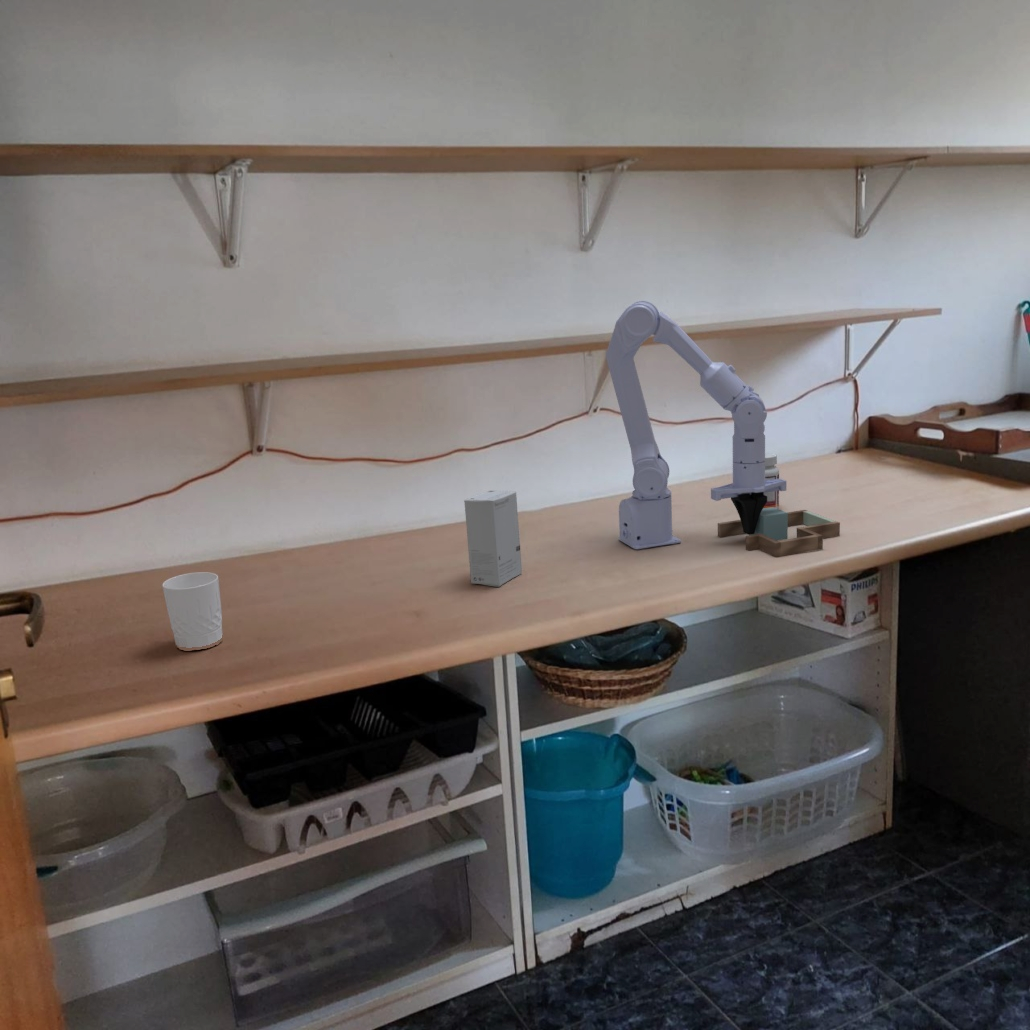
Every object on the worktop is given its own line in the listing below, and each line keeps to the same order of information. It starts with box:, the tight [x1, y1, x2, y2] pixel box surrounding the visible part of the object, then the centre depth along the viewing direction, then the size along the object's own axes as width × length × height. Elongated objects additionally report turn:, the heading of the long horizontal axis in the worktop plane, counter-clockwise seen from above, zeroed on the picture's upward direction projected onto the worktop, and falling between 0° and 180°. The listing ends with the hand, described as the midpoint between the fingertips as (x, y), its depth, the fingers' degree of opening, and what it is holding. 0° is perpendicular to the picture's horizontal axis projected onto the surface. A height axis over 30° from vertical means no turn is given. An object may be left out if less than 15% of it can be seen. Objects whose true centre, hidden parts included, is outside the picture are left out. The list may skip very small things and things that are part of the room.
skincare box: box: [463, 490, 523, 588], centre depth 165 cm, size 8×6×15 cm
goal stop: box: [802, 510, 836, 526], centre depth 183 cm, size 1×9×2 cm, turn 18°
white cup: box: [161, 571, 224, 648], centre depth 144 cm, size 8×8×10 cm
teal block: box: [751, 507, 789, 541], centre depth 180 cm, size 5×5×5 cm
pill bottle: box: [763, 452, 780, 509], centre depth 199 cm, size 6×6×11 cm
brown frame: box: [717, 509, 841, 558], centre depth 178 cm, size 19×16×2 cm
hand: (749, 533), depth 179 cm, fingers closed
